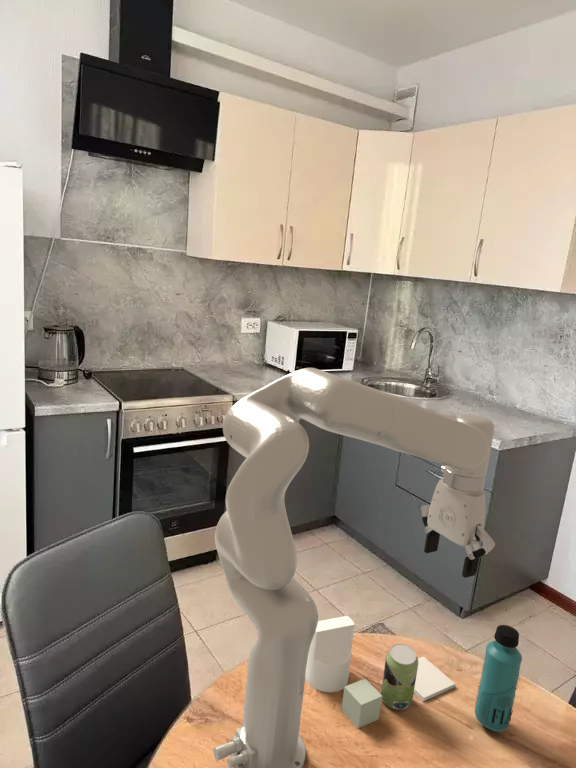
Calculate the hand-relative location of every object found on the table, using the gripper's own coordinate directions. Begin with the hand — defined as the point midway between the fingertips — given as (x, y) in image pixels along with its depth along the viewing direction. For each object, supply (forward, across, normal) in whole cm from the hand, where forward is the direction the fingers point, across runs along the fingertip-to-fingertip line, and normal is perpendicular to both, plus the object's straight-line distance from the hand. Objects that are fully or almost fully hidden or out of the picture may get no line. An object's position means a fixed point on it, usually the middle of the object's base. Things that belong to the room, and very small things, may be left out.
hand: (448, 563), depth 108 cm
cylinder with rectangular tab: (+28, -12, -17) cm, 35 cm away
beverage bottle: (+28, +13, +4) cm, 31 cm away
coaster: (+27, -2, +1) cm, 27 cm away
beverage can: (+28, 0, -9) cm, 29 cm away
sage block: (+28, 0, -17) cm, 33 cm away
